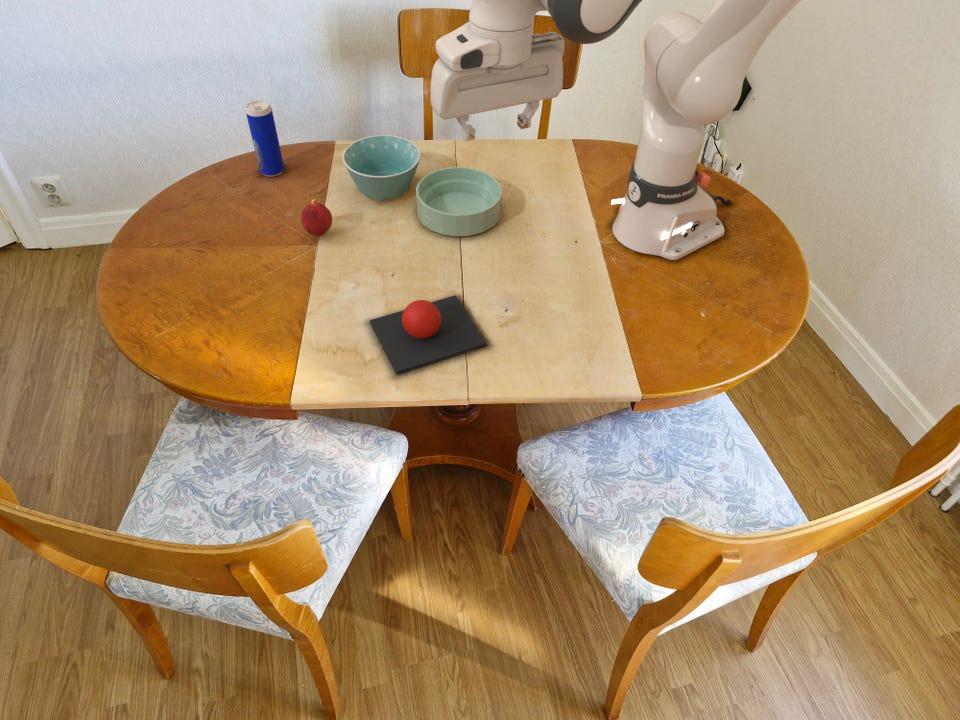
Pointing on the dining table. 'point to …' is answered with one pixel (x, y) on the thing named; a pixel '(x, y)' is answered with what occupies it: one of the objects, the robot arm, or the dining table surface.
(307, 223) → the onion
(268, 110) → the beverage can
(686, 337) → the dining table surface
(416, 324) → the red ball
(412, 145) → the bowl
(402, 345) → the mat
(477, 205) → the fruit bowl
